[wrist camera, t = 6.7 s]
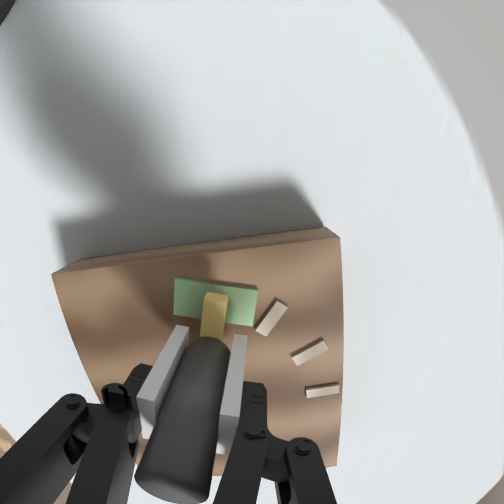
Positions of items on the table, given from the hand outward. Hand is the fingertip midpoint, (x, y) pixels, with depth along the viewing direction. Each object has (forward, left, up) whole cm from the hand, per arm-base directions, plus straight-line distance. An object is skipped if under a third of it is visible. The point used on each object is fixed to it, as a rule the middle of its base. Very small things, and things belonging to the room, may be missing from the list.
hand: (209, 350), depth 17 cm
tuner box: (+6, -2, -6) cm, 9 cm away
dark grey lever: (+2, -1, -2) cm, 3 cm away
